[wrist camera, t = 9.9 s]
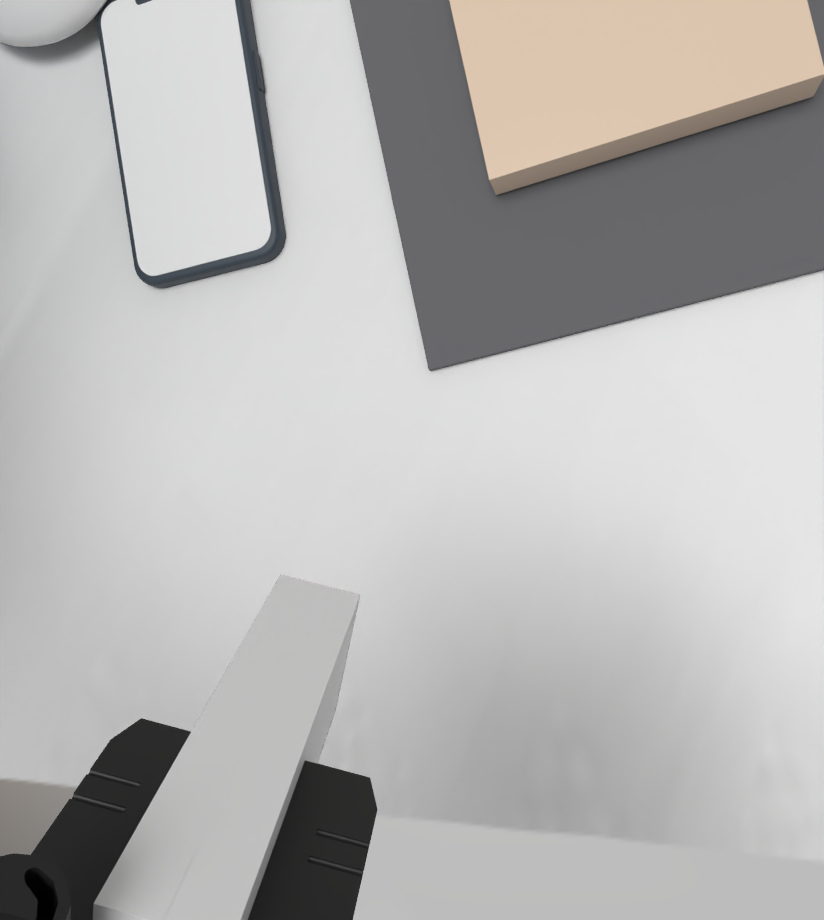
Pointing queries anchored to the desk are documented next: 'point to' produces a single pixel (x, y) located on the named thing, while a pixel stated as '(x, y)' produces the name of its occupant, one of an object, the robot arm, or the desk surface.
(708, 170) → the mat
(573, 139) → the tile
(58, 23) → the flower in vase
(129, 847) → the robot arm
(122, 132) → the smartphone
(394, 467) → the desk surface
